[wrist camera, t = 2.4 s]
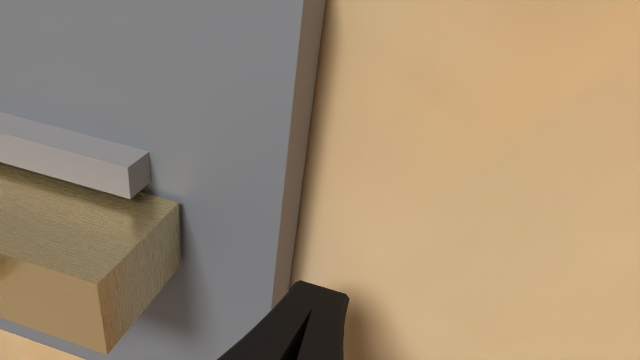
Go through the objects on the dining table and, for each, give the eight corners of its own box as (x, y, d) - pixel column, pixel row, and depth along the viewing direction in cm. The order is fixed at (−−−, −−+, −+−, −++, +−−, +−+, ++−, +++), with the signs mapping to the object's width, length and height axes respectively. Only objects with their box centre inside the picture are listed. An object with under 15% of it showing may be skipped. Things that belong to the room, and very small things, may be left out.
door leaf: (277, 377, 20) (249, 445, 18) (28, 294, 22) (-30, 344, 20) (331, -44, 12) (291, -30, 9) (-75, -116, 14) (-197, -120, 11)
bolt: (180, 266, 15) (74, 395, 11) (-8, 207, 17) (-165, 306, 12) (178, 202, 14) (58, 323, 10) (-26, 145, 15) (-206, 232, 11)
